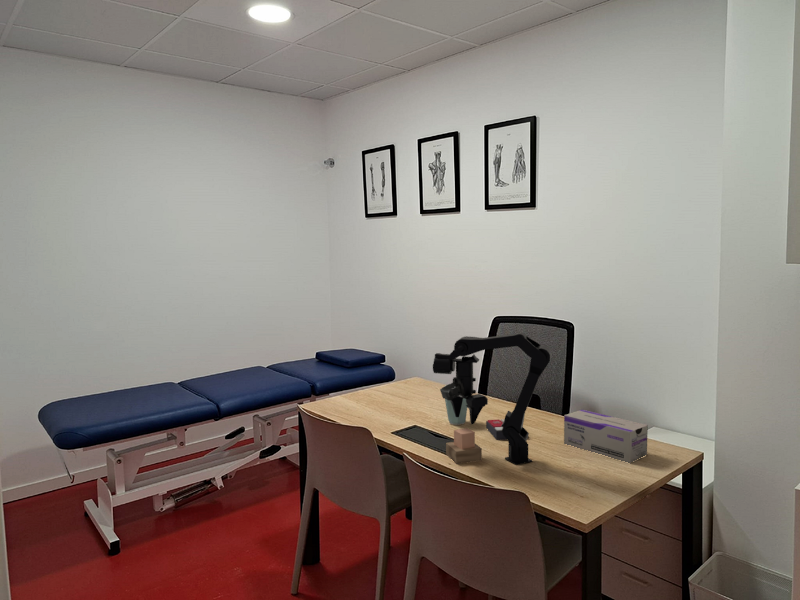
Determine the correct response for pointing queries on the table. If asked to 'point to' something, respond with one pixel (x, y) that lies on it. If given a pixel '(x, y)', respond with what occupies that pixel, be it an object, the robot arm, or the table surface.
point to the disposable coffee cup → (451, 414)
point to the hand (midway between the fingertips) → (464, 420)
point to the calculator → (496, 428)
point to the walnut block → (463, 453)
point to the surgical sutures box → (606, 435)
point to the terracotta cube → (464, 438)
